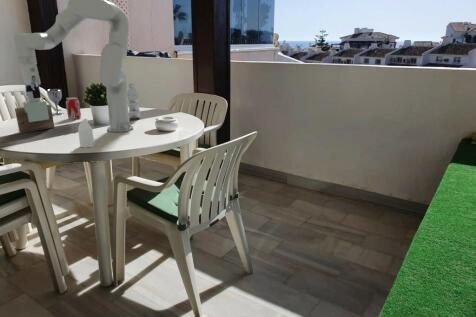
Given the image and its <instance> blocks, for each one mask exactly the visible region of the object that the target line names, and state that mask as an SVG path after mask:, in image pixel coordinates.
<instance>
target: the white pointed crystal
mask: <svg viewBox="0 0 476 317" xmlns="http://www.w3.org/2000/svg"><path fill="white" fill-rule="evenodd" d="M77 131H78V139H79V140H78V141H79V146H80V148H82V147H83V149H85V148H86V149H87V147H89V148H92V147H94V146H95V138H94V133H93V127H92V126H91V125H90V124H89V121H88V119H87V118H83V120H81V121H80V123H79V124H78V128H77Z"/></svg>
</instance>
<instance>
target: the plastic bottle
mask: <svg viewBox="0 0 476 317" xmlns="http://www.w3.org/2000/svg"><path fill="white" fill-rule="evenodd" d="M136 86H137V85H136V83H128V90H127V101H128V112H129V119H134V120H135V119H138V118H140V117H141V111H140V106H139V90H138V89H137V88H136Z"/></svg>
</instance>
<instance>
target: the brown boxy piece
mask: <svg viewBox="0 0 476 317" xmlns="http://www.w3.org/2000/svg"><path fill="white" fill-rule="evenodd" d="M47 109H48V115H49V119H48V120H41V121H34V122H29V121H28V116H27V113H26V112H25V110H24V106H23V107H22V106H21V107H14V112H15V116H16V117H15V118H16V122H17V127H18V131H19V133H20V134H21V133H28V132H34V131H41V130H48V129H53V128H56V127H55V122H54V115H52V114H53V111H52V104H48V103H47Z"/></svg>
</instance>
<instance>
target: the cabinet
mask: <svg viewBox="0 0 476 317" xmlns="http://www.w3.org/2000/svg"><path fill="white" fill-rule="evenodd" d="M27 95H28V96H27ZM26 96H27V99H28V100H27V101H24V102H22V104H23V107H24V110H25V112H26V113H27V116H28V121H29V122H34V121H41V120H48V119H49V115H48V109H47V105H48V103H47V101H46V100H41V98H33V93H32V92H27V93H26Z"/></svg>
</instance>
